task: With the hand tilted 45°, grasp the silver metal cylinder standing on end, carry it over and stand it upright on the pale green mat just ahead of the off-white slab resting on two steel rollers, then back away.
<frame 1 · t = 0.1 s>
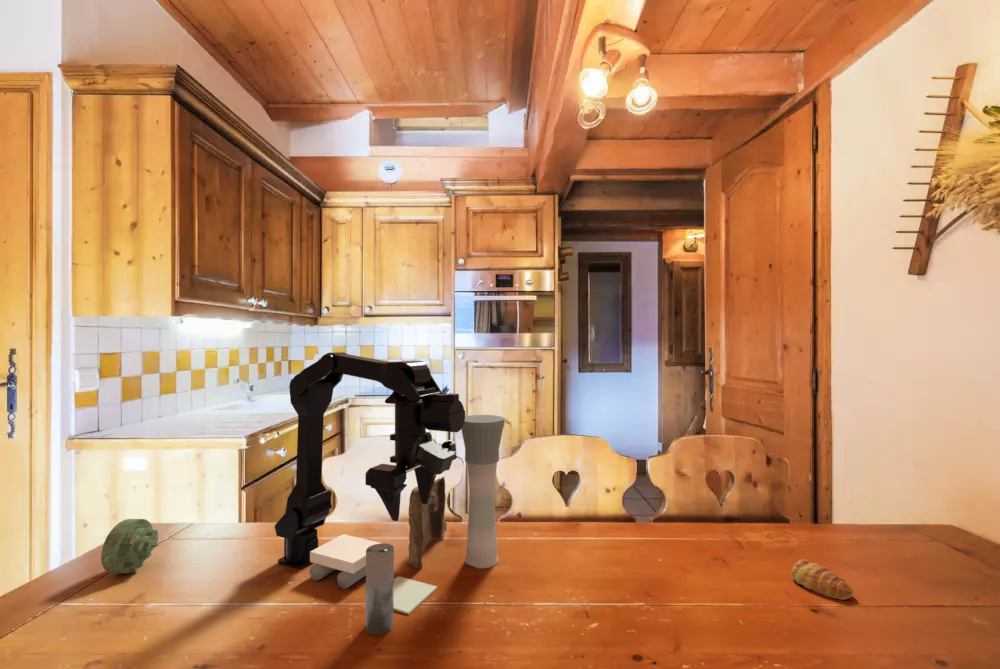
hand: (410, 511, 86), 15 cm above the table, tool pointing down, fingers open, 9 cm apart
decorative artifact: (139, 571, 93), on the table
slab on rollers: (347, 572, 92), on the table
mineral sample: (427, 551, 102), on the table
container: (481, 561, 98), on the table
silver metal cylinder: (379, 626, 75), on the table
pastry: (819, 588, 88), on the table
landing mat: (403, 595, 84), on the table
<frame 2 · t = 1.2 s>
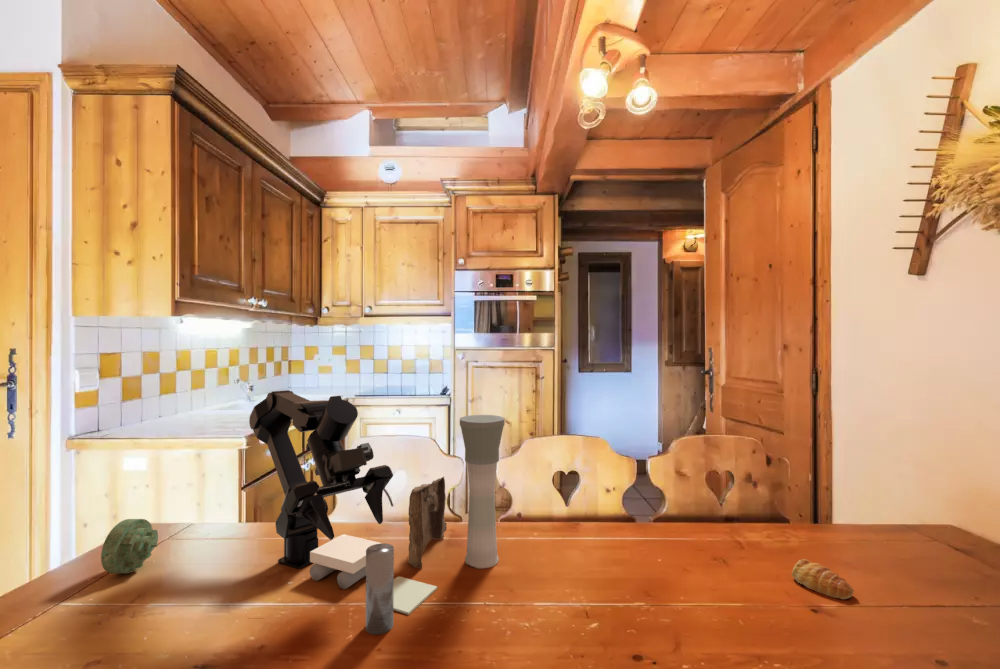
hand: (357, 530, 81), 13 cm above the table, tool tilted 45°, fingers open, 9 cm apart
nothing on the table moved.
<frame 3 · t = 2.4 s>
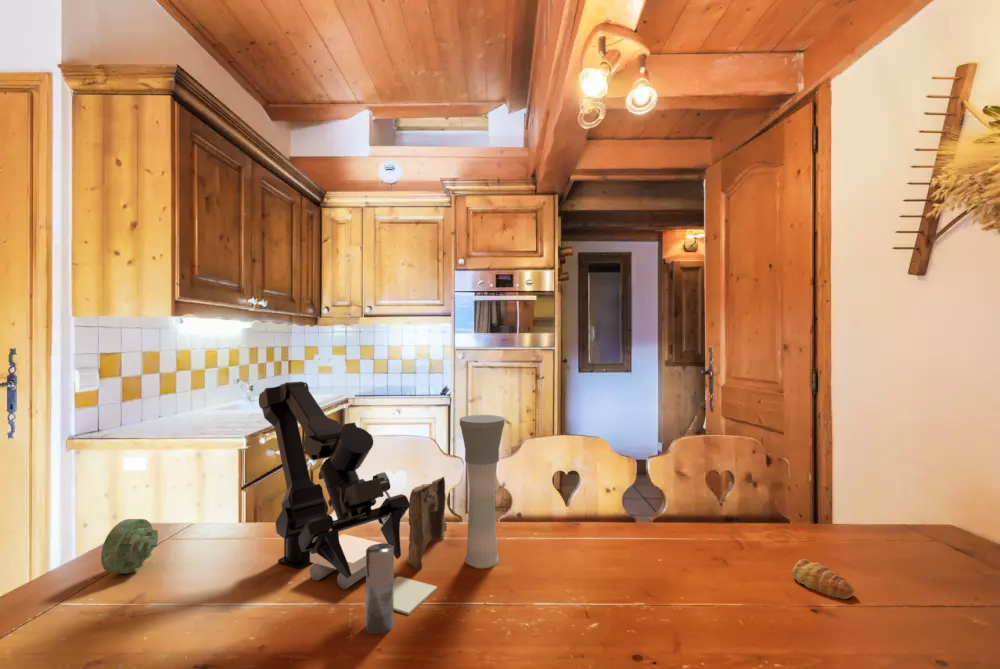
hand: (375, 566, 76), 9 cm above the table, tool tilted 45°, fingers open, 9 cm apart
nothing on the table moved.
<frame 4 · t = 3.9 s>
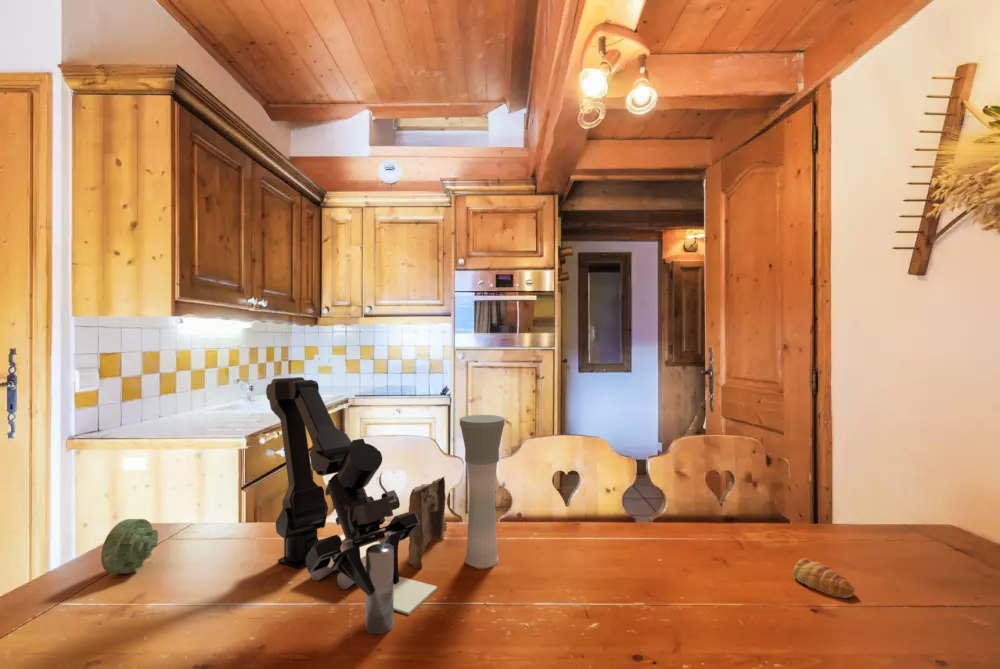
hand: (384, 588, 74), 7 cm above the table, tool tilted 45°, fingers closed on silver metal cylinder, 4 cm apart
silver metal cylinder: (379, 626, 75), on the table, touching gripper
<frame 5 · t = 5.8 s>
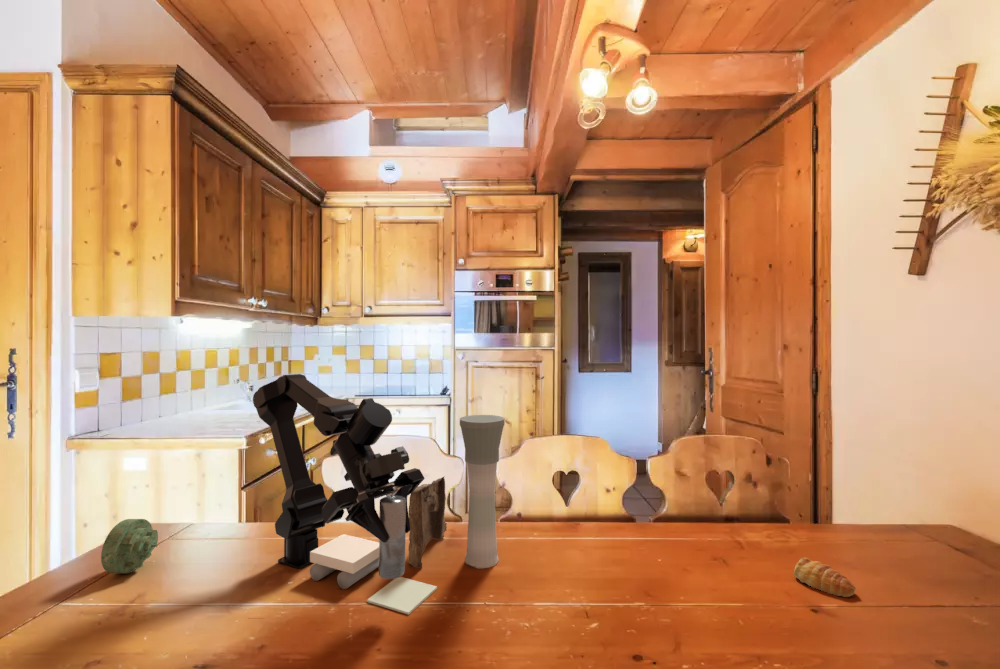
hand: (397, 536, 79), 13 cm above the table, tool tilted 45°, fingers closed on silver metal cylinder, 4 cm apart
silver metal cylinder: (391, 572, 80), point 7 cm above the table, touching gripper
when the fingers open (8 cm above the table, at t = 7.8 s): silver metal cylinder stays where it is, resting on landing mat.
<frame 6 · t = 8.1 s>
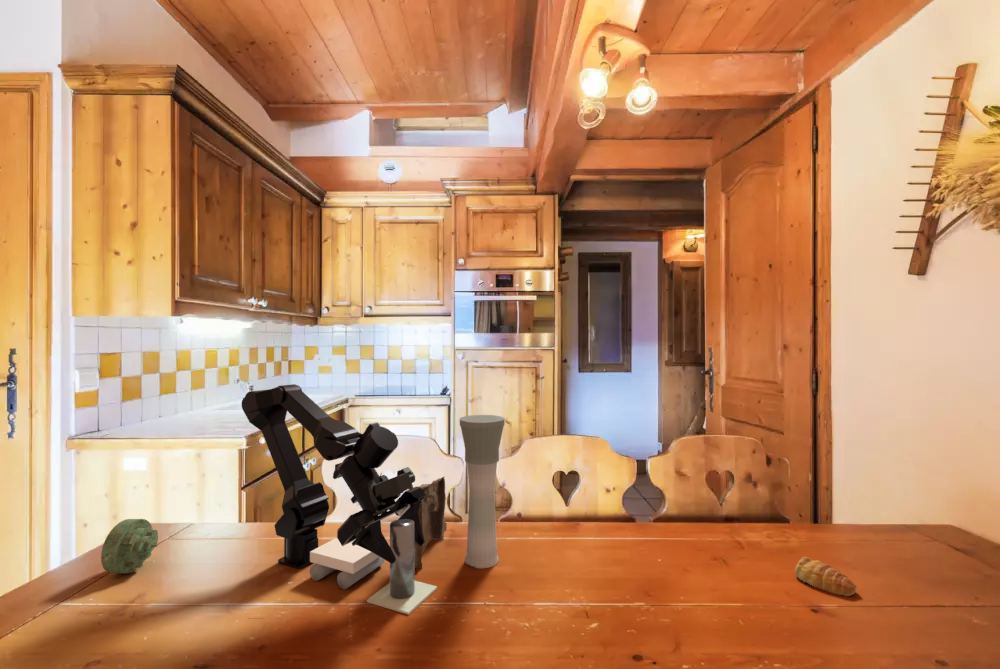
hand: (409, 552, 84), 8 cm above the table, tool tilted 45°, fingers open, 8 cm apart
silver metal cylinder: (402, 592, 84), resting on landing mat
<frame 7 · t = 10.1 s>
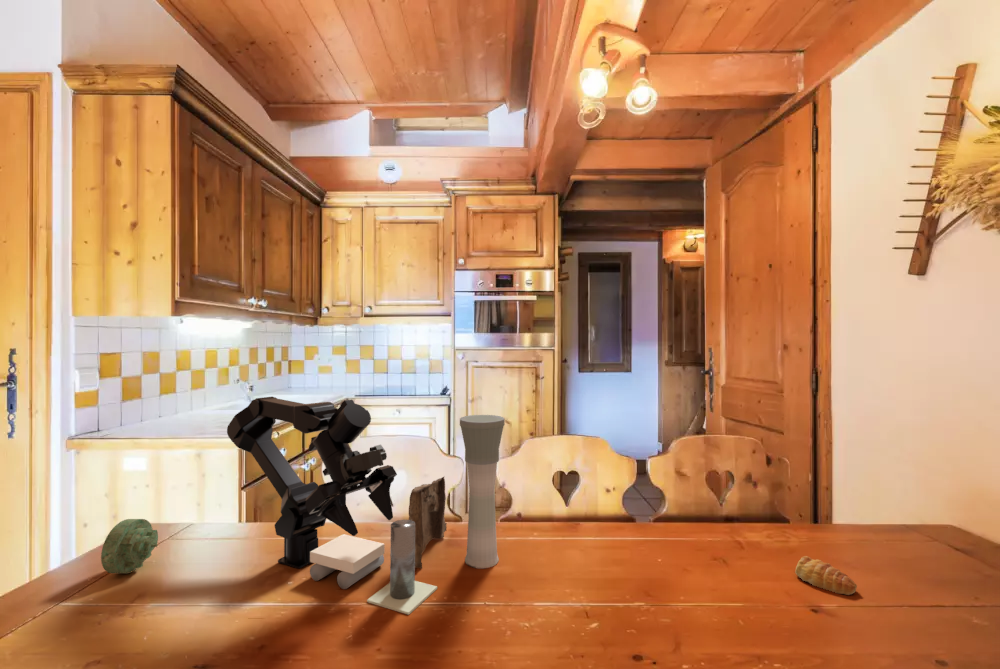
hand: (374, 526, 87), 12 cm above the table, tool tilted 40°, fingers open, 9 cm apart
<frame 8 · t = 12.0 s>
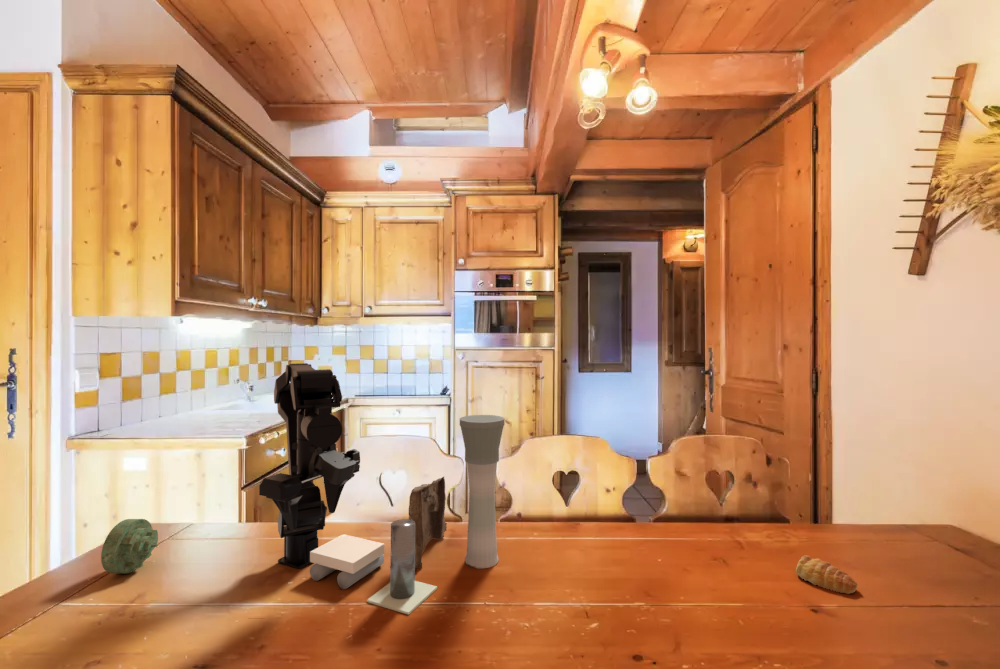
hand: (313, 521, 86), 13 cm above the table, tool pointing down, fingers open, 9 cm apart
at the end: silver metal cylinder 0.2 cm off-centre on the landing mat, point 0.4 cm above the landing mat's base; silver metal cylinder tilted 1°; the gripper is holding nothing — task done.
